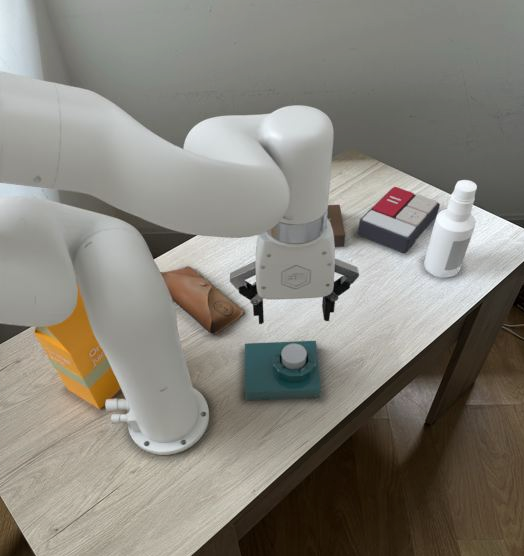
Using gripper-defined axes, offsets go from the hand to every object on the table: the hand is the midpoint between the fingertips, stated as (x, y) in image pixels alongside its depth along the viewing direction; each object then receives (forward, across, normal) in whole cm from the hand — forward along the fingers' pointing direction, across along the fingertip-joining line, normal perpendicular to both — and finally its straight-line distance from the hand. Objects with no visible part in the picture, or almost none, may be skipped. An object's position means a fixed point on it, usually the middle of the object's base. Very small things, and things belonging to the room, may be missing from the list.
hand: (293, 315), depth 75 cm
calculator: (+14, +25, +37) cm, 46 cm away
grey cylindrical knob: (+10, 0, 0) cm, 10 cm away
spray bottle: (+14, +30, +24) cm, 41 cm away
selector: (+14, +6, +36) cm, 39 cm away
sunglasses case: (+14, -16, +18) cm, 28 cm away
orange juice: (+15, -32, 0) cm, 35 cm away
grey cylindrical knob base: (+14, -2, 0) cm, 14 cm away
